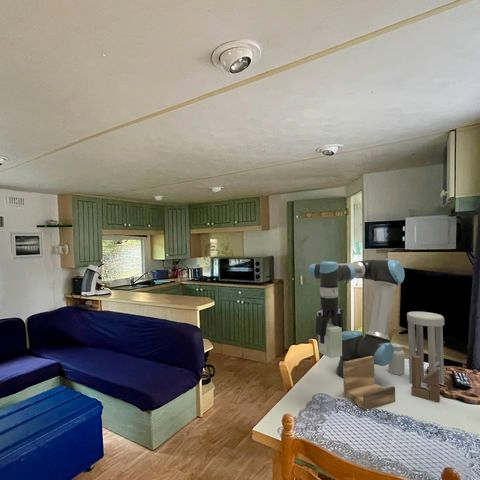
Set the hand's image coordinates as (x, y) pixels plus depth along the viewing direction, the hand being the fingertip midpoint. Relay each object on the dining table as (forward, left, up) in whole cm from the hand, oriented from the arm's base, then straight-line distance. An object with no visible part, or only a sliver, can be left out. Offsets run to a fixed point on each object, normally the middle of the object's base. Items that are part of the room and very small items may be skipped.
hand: (330, 349), depth 126 cm
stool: (+4, +58, -25) cm, 63 cm away
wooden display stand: (+3, +20, -24) cm, 32 cm away
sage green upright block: (0, 0, -2) cm, 2 cm away
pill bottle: (-12, +57, -25) cm, 63 cm away
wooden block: (+12, +45, -25) cm, 53 cm away
